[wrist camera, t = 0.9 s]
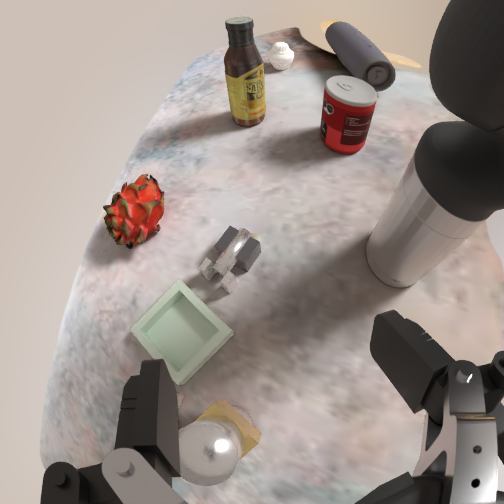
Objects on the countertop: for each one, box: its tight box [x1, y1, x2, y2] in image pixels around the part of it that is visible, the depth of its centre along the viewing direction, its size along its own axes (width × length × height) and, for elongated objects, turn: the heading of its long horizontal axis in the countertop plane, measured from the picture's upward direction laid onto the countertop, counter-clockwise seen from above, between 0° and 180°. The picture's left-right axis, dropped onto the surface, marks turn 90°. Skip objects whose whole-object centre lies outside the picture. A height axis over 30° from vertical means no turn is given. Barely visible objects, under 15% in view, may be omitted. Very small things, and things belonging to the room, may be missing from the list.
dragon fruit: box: [103, 174, 164, 249], centre depth 38 cm, size 8×8×12 cm
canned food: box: [320, 75, 377, 154], centre depth 40 cm, size 8×8×11 cm
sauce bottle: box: [224, 17, 266, 126], centre depth 40 cm, size 7×6×20 cm
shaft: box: [199, 226, 261, 294], centre depth 36 cm, size 7×4×3 cm, turn 147°
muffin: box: [267, 42, 294, 70], centre depth 53 cm, size 6×6×7 cm
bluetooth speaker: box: [325, 22, 395, 91], centre depth 51 cm, size 23×9×10 cm, turn 7°
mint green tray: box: [130, 279, 235, 385], centre depth 33 cm, size 9×9×2 cm
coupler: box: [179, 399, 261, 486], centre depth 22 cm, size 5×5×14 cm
